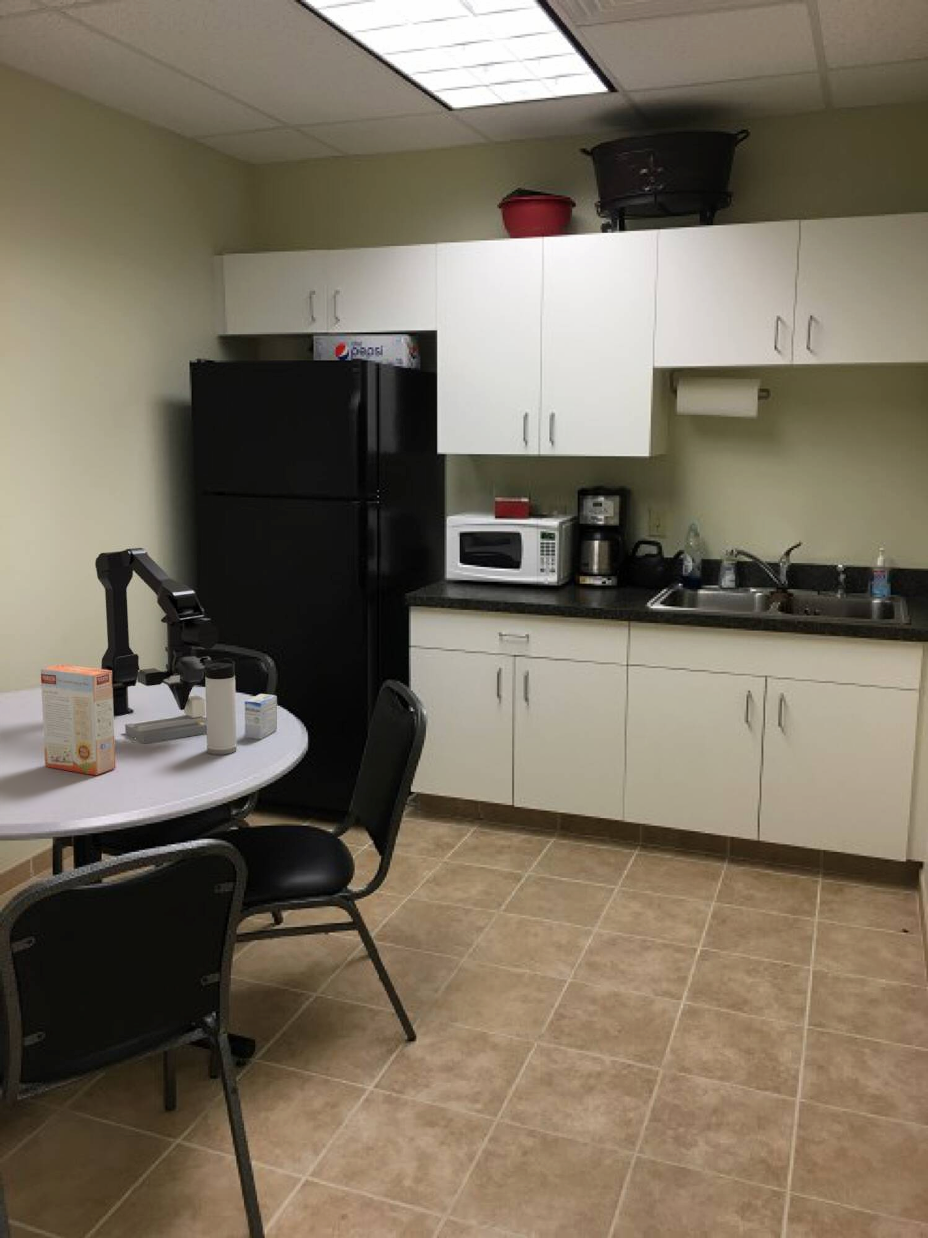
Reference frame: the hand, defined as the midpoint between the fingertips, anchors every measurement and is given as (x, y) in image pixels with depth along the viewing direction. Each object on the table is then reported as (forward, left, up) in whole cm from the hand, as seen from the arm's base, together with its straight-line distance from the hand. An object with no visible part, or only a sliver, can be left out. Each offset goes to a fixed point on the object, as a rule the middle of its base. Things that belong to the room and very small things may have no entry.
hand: (181, 709), depth 248 cm
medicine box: (+13, +14, -5) cm, 20 cm away
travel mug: (+20, +1, -5) cm, 21 cm away
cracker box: (+15, -28, -5) cm, 33 cm away
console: (0, -3, -5) cm, 6 cm away
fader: (0, +3, -3) cm, 4 cm away
